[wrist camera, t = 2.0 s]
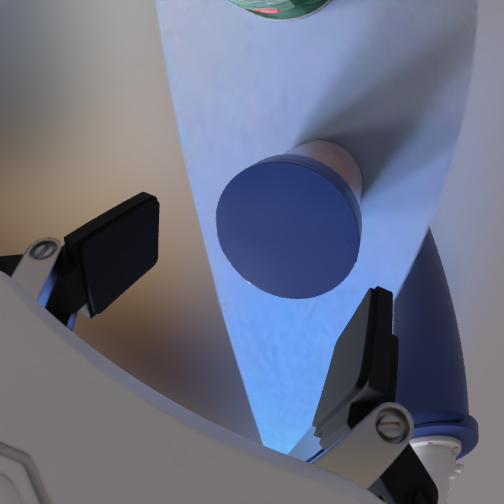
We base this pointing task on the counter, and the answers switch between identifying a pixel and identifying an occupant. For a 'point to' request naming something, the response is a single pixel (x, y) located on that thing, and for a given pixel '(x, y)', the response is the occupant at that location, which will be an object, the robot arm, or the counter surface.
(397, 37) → the counter surface
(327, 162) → the jam jar
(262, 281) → the jar lid
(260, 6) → the canned tomato
